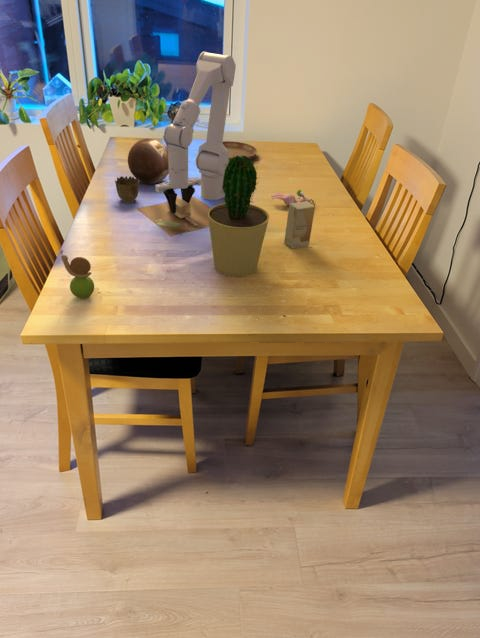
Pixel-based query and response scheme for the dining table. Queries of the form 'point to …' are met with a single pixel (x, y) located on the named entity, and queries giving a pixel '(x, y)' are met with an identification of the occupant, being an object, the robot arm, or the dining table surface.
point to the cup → (127, 188)
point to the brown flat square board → (176, 224)
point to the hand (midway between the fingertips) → (178, 210)
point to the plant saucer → (239, 149)
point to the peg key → (182, 209)
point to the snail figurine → (79, 276)
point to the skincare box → (299, 224)
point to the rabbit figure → (292, 198)
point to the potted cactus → (237, 221)
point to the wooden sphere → (148, 161)
